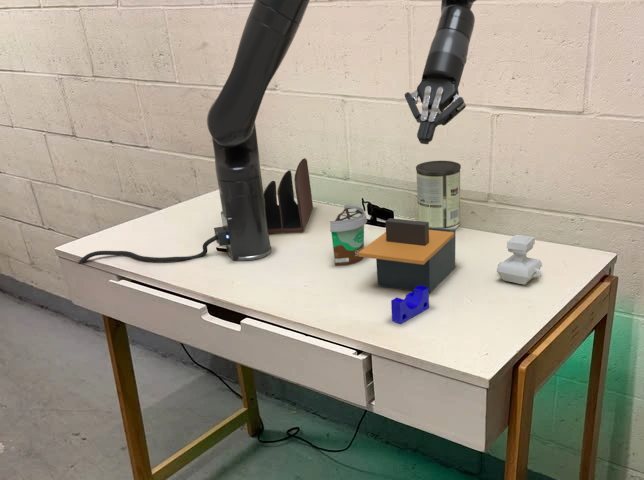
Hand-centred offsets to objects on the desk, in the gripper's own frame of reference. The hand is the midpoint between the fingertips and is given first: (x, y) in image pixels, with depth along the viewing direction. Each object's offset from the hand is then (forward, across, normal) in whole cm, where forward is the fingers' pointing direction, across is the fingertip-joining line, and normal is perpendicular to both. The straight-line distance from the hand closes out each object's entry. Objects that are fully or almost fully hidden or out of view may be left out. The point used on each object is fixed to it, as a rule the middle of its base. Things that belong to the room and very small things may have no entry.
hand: (423, 142), depth 137 cm
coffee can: (+7, -4, +32) cm, 32 cm away
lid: (+22, +4, -2) cm, 22 cm away
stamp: (+22, +23, +10) cm, 33 cm away
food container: (+23, -13, +11) cm, 29 cm away
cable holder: (+35, +9, -7) cm, 37 cm away
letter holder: (+13, -41, +26) cm, 50 cm away
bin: (+25, +4, +6) cm, 26 cm away
